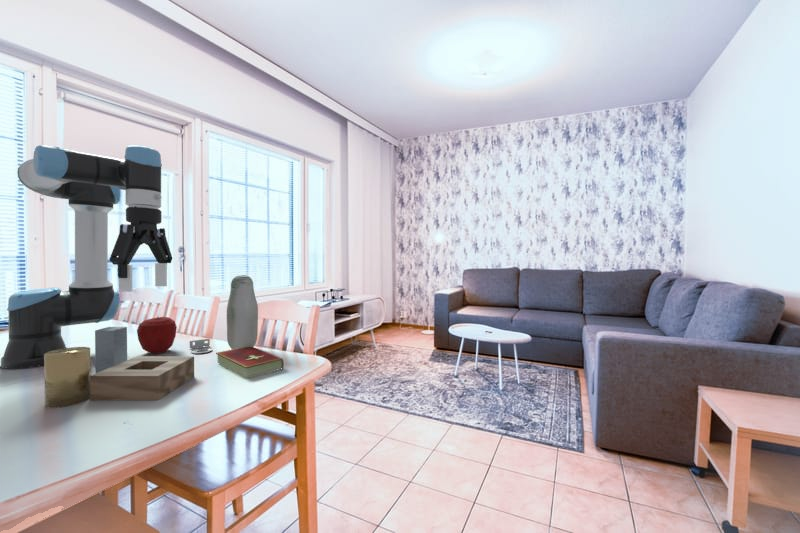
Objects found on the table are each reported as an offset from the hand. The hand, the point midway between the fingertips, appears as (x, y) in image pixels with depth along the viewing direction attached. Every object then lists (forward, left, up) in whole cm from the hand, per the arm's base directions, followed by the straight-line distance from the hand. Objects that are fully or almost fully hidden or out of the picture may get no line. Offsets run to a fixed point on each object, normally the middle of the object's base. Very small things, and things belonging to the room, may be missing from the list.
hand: (144, 288), depth 92 cm
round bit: (+8, -12, -26) cm, 30 cm away
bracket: (-36, -3, -27) cm, 45 cm away
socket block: (0, +1, -26) cm, 26 cm away
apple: (-33, -17, -27) cm, 46 cm away
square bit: (-8, -14, -26) cm, 31 cm away
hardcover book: (-18, +20, -27) cm, 38 cm away
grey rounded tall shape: (-35, +12, -27) cm, 45 cm away
